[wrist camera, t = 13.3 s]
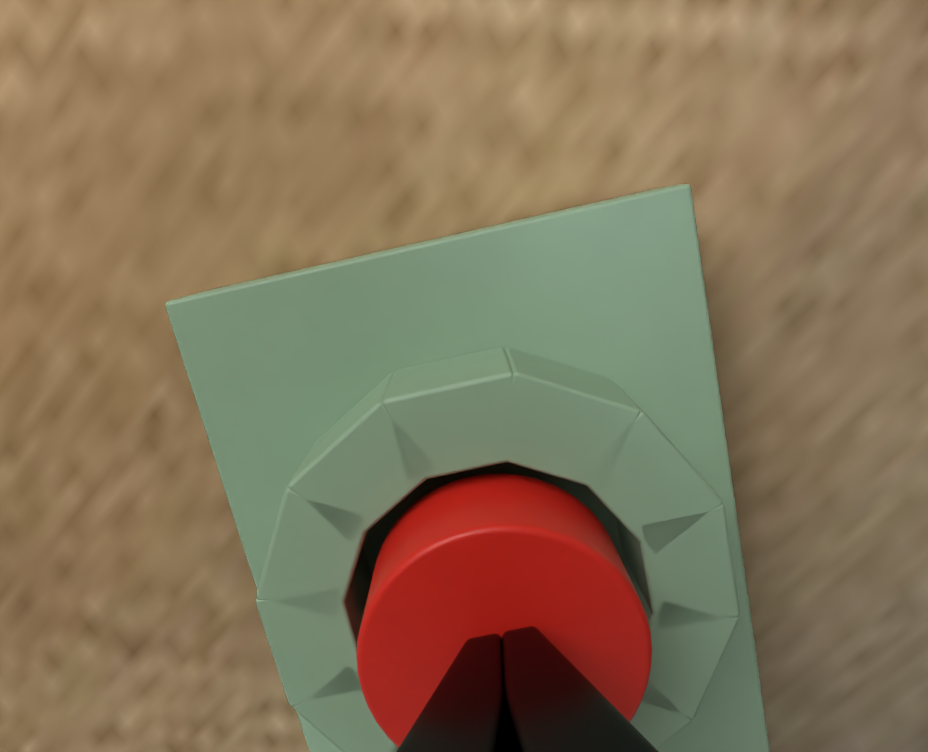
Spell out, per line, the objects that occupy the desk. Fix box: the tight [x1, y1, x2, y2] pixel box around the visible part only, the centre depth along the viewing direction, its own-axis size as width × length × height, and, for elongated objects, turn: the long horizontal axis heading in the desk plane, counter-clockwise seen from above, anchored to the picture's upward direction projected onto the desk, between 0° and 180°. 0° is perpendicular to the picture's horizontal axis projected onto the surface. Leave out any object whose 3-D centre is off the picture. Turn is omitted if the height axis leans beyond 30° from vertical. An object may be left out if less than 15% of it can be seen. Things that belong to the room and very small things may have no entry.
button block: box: [166, 184, 769, 752], centre depth 11 cm, size 10×8×4 cm
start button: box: [356, 474, 652, 748], centre depth 9 cm, size 4×4×2 cm
